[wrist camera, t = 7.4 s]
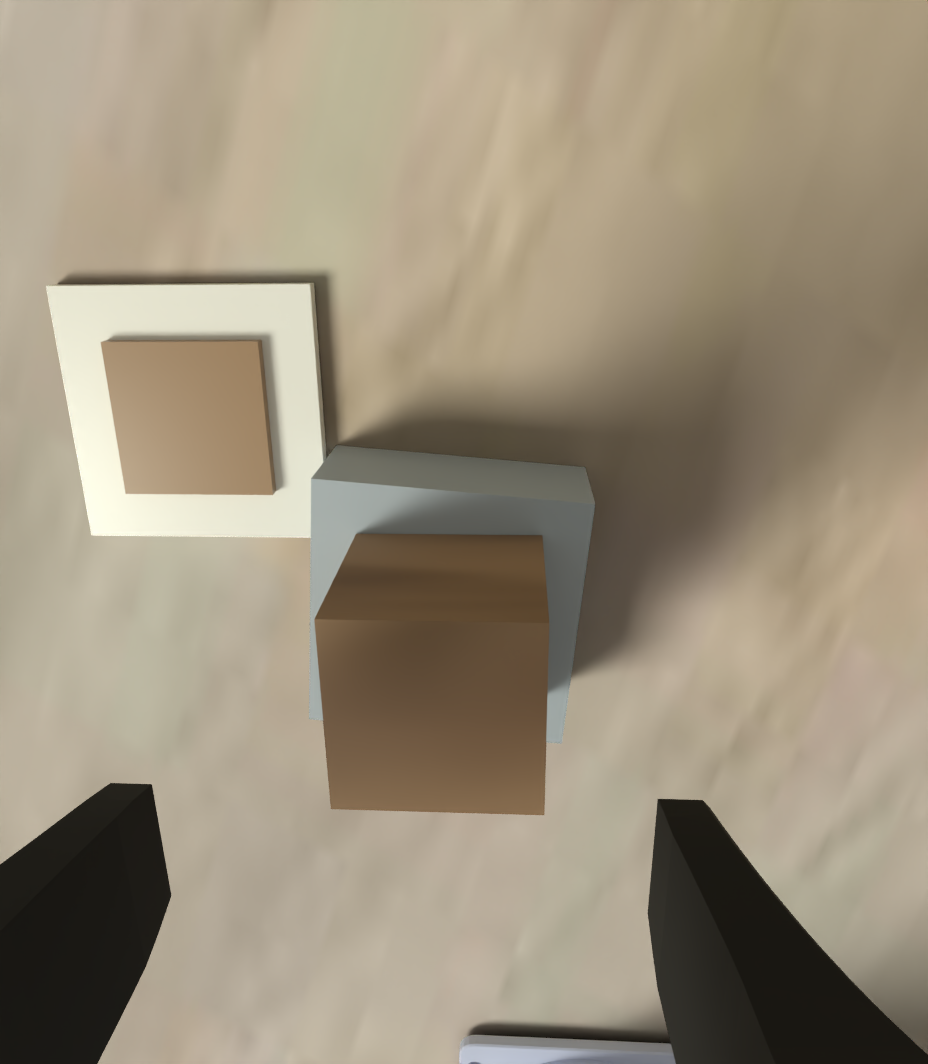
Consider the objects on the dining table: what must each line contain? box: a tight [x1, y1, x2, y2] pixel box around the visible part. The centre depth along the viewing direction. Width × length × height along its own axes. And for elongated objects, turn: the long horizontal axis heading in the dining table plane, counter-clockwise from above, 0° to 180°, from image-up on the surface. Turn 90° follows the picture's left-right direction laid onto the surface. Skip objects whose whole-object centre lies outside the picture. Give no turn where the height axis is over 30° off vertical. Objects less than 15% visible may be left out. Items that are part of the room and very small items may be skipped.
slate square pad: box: [309, 445, 595, 744], centre depth 20 cm, size 6×6×3 cm
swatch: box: [46, 283, 327, 538], centre depth 20 cm, size 6×6×1 cm
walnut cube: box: [314, 534, 549, 815], centre depth 17 cm, size 4×4×4 cm
